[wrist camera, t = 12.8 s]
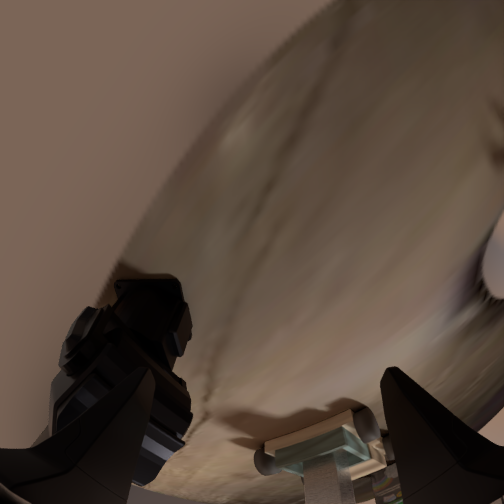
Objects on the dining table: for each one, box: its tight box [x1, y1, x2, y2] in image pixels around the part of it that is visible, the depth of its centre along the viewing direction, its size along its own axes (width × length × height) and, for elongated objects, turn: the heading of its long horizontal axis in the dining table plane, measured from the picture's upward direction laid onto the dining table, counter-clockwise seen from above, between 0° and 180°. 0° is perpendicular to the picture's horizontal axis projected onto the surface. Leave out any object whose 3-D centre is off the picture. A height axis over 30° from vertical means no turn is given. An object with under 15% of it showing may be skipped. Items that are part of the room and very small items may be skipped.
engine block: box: [302, 448, 355, 504], centre depth 26 cm, size 5×5×11 cm
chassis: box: [254, 407, 395, 484], centre depth 32 cm, size 20×18×5 cm
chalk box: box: [370, 462, 403, 504], centre depth 37 cm, size 9×9×15 cm
